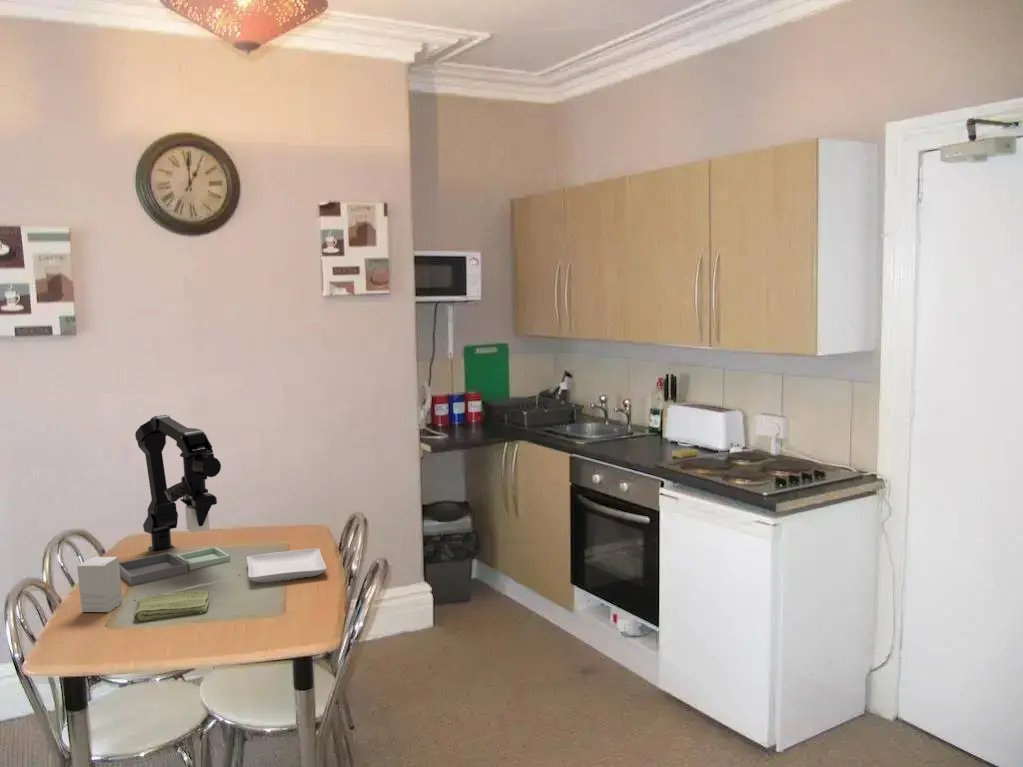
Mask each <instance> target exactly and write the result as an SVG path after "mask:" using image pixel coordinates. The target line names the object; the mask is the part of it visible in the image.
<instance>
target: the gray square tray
mask: <svg viewBox="0 0 1023 767" xmlns="http://www.w3.org/2000/svg"><path fill="white" fill-rule="evenodd" d="M119 568H120V578H121V579H123V580H124V581H125V582H127V583H128V584H129V586H134V585H139V584H143V583H147V582H152V581H156V580H161V579H166V578H170V577H174V576H178V575H179V576H180V575H182V574H187V573H189V569H188V565H187V564H186V563H185V562H183V561H182V560H181V559H179V558H178V557H176V554H173V553H172V552H170V551H169V552H164V553H163V552H162V553H159V554H154V555H149V556H146V557H145V556H144V557H141V558H135V559H131V560H126V561H125V560H124V561H121V562H120V561H119Z"/></svg>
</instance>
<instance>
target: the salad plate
mask: <svg viewBox="0 0 1023 767" xmlns="http://www.w3.org/2000/svg"><path fill="white" fill-rule="evenodd" d="M246 561H247V576H248V579H249V580H250V581H252V582H256V583H262V582H264V583H265V582H268V583H274V582H275V581H277V582H283V581H282V580H285V581H289V580H288V579H293V580H296V579H295V578H301V579H305V578H304V577H308V578H312V577H317V576H320V575H323V573H324V572H325V571H326V570H327V565H326V563H325V561H324V559H323V556H322V553H321V550H320V548H315V547H314V548H308V549H297V550H296V549H295V550H288V551H280V552H279V551H276V552H270V553H268V552H267V553H261V554H254V555H248V556H247V557H246ZM264 583H263V584H264ZM275 583H276V582H275ZM265 584H266V583H265Z"/></svg>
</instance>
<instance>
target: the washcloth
mask: <svg viewBox="0 0 1023 767" xmlns="http://www.w3.org/2000/svg"><path fill="white" fill-rule="evenodd" d="M209 595H210V592H209V591H207V590H187V591H180V592H176V593H175V592H174V593H169V594H168V593H167V594H155V595H148V596H145V597H142V598H140V599H138V601H137V603H136V610H135V611H134V613H133V620H135V621H136V622H138V623H139V622H146V621H147V620H148V621H157V620H161V619H160V618H164V619H168V618H167V617H170V618H174V617H173V616H177V617H182V616H181V615H183V616H186V615H185V614H190V615H194V614H193V613H197V614H201V613H200V612H204V613H205V612H207V608H208V605H209V602H210V599H209ZM156 619H157V620H156Z"/></svg>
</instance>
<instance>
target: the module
mask: <svg viewBox="0 0 1023 767" xmlns="http://www.w3.org/2000/svg"><path fill="white" fill-rule="evenodd" d="M184 507H185V520H186V530H188V531H189V532H191V533H198V532H201V531H208V530H210V517H209V516H210V515H209V513H208V514H207V517H206V519H205V522H204V524H203V526H199V525H198V521H197V516H196V512H195V509H193V508H192V507H191V506H190V505H189V506H187V505H185V506H184Z"/></svg>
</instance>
